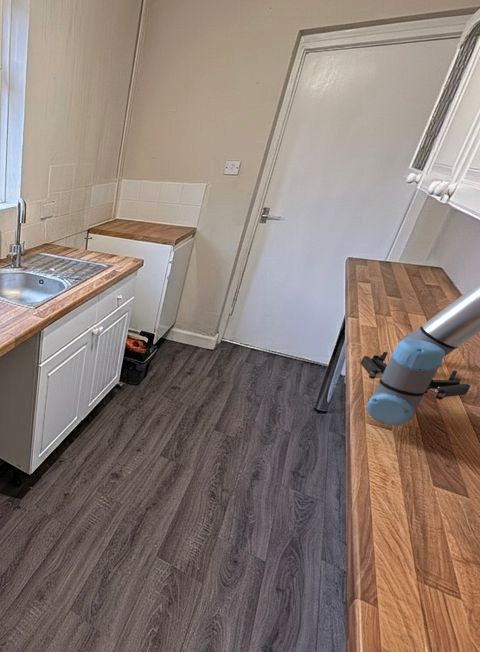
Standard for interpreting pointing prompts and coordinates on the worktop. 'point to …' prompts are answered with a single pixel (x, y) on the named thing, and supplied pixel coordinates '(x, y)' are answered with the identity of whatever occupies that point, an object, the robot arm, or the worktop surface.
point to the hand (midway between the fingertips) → (417, 365)
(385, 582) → the worktop surface
